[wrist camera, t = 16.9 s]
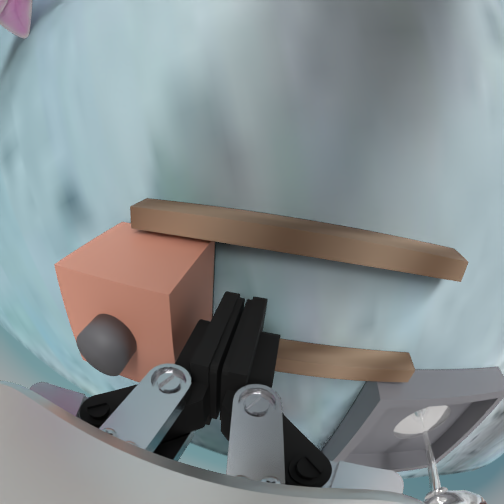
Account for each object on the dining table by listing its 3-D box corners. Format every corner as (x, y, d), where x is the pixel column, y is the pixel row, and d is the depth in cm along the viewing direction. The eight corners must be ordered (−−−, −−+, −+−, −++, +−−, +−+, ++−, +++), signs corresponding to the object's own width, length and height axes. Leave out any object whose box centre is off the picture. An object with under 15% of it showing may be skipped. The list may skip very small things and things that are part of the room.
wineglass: (422, 392, 14) (452, 553, 3) (474, 400, 14) (508, 522, 3) (365, 441, 17) (366, 572, 6) (421, 445, 17) (433, 554, 6)
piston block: (215, 235, 12) (151, 318, 7) (211, 324, 15) (169, 417, 9) (122, 222, 13) (33, 279, 7) (130, 304, 15) (69, 375, 9)
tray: (498, 366, 13) (510, 389, 11) (428, 446, 18) (432, 466, 16) (374, 367, 14) (380, 399, 12) (321, 451, 19) (320, 474, 17)
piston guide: (454, 248, 11) (468, 262, 10) (385, 391, 15) (389, 408, 14) (147, 198, 13) (130, 206, 11) (159, 355, 17) (150, 370, 15)
